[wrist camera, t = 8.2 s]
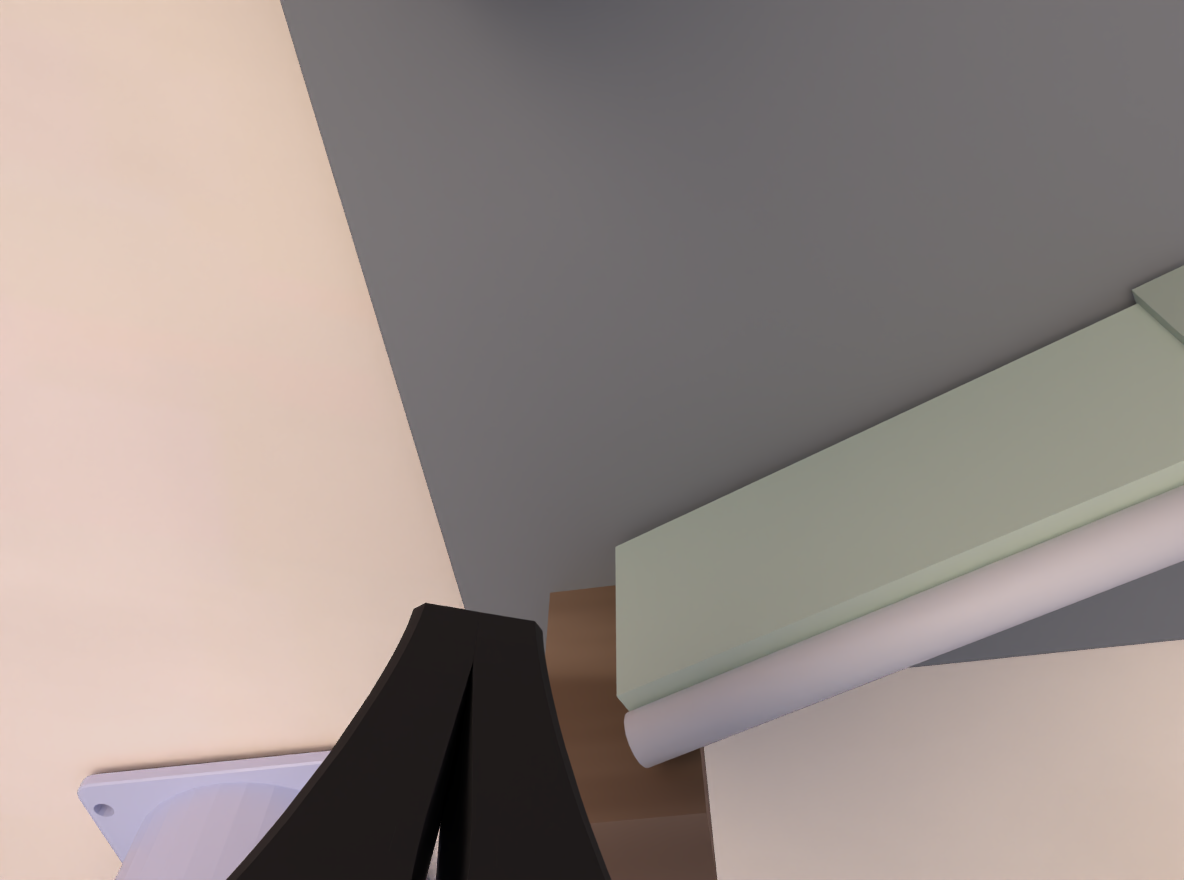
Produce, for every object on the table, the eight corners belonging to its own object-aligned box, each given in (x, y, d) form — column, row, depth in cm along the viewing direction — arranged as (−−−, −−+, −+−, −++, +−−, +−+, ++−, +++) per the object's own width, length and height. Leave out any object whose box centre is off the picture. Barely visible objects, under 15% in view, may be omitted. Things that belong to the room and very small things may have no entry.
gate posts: (691, 631, 23) (717, 884, 18) (565, 644, 23) (553, 897, 18) (557, -301, 14) (523, -384, 8) (351, -260, 14) (187, -311, 9)
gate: (655, 597, 22) (667, 795, 17) (609, 536, 21) (609, 727, 16) (1226, 344, 18) (1423, 511, 14) (1199, 257, 17) (1402, 405, 13)
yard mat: (1307, 613, 23) (1318, 625, 22) (497, 697, 24) (495, 710, 24) (1741, -849, 11) (1777, -869, 11) (145, -478, 13) (132, -487, 13)
